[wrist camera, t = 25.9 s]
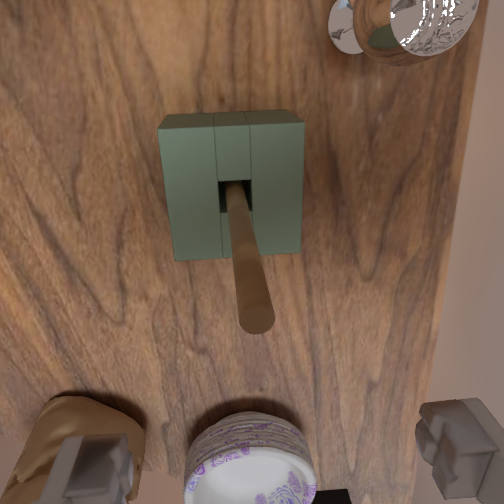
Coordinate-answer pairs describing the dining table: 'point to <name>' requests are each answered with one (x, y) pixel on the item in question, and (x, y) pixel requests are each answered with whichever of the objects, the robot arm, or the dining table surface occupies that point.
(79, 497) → the robot arm
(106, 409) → the container
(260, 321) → the stirring stick
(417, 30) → the wineglass
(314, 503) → the lamp
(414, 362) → the dining table surface
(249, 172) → the stick stand
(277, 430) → the paper bowls
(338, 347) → the dining table surface
